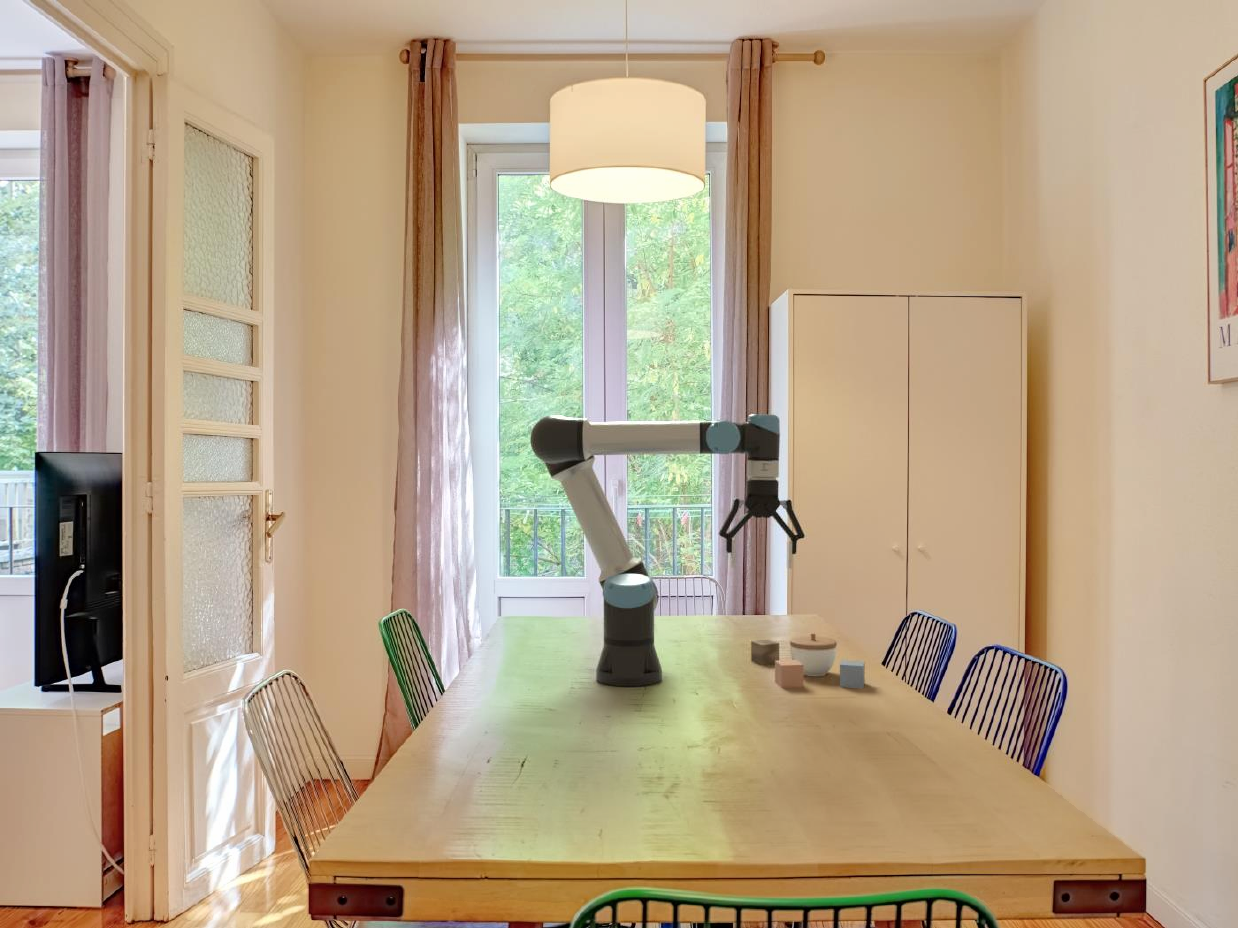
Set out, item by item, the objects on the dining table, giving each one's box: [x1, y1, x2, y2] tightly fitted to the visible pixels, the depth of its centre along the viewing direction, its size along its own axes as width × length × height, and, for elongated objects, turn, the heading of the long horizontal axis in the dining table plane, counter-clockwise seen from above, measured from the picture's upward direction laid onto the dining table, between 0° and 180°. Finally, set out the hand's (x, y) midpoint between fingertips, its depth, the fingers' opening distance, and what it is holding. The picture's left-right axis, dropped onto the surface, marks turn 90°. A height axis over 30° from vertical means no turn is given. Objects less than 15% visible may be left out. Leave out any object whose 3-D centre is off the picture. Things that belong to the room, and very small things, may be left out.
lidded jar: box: [789, 632, 838, 677], centre depth 231 cm, size 11×11×9 cm
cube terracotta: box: [774, 659, 804, 689], centre depth 220 cm, size 5×5×5 cm
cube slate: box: [839, 659, 866, 689], centre depth 220 cm, size 5×5×5 cm
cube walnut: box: [750, 639, 780, 666], centre depth 243 cm, size 5×5×5 cm
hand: (760, 567), depth 236 cm, fingers open, 13 cm apart
